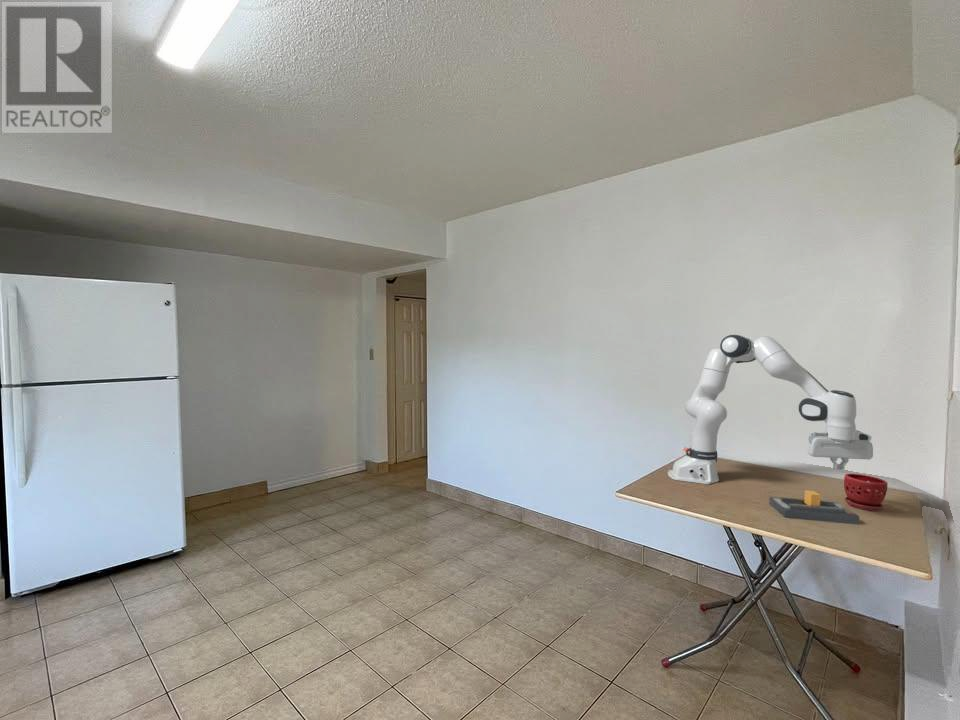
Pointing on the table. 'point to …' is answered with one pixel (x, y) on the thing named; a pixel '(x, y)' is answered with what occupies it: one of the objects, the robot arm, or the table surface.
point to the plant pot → (864, 491)
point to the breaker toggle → (812, 498)
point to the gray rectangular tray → (813, 510)
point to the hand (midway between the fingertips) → (838, 469)
